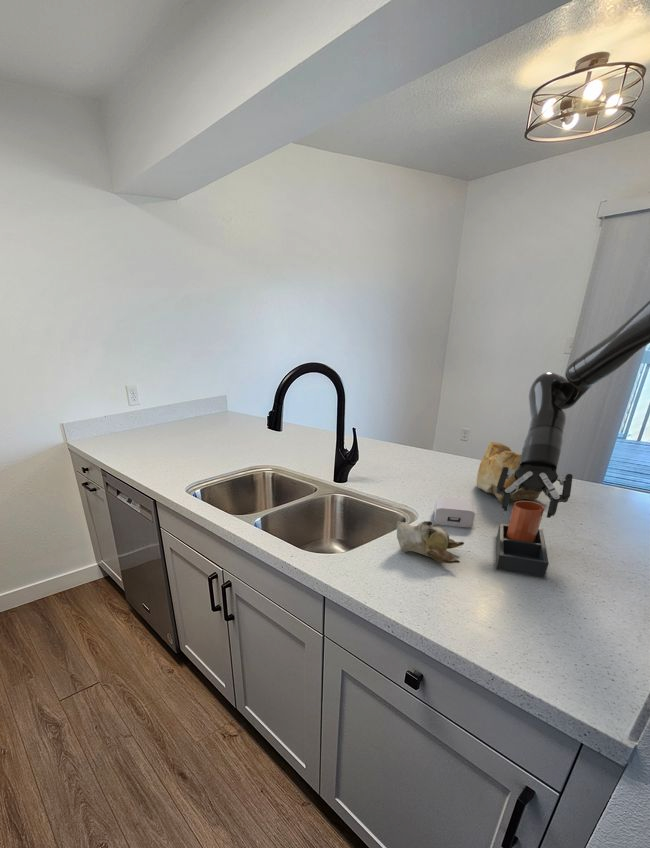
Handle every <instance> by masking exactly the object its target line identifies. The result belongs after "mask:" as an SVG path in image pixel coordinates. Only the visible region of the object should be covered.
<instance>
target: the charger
mask: <svg viewBox="0 0 650 848" xmlns="http://www.w3.org/2000/svg"><path fill="white" fill-rule="evenodd" d="M475 516H476V512H475V506H474V501H473V499H471V498H468V497H466V498H465V497H460V496H453V495H448V496H442V495H441V496H438V497H436V500H435V504H434V521H433V522H434V523H435V524H436V525H441V526H449V527H459V528H470V527H473V525H474V522H475Z"/></svg>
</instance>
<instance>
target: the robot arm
mask: <svg viewBox="0 0 650 848" xmlns="http://www.w3.org/2000/svg"><path fill="white" fill-rule="evenodd" d="M648 345H650V299H649V300H647V302H646V303H645V304H644V305H642V307H640V308H639V309H638V310H637V311H636V312H635V313H634V314H633V315H632V316H631V317H629V318H628V319H627V320H626V321H625V322H624V323H623V324H621V325H620V326H619V327H618V328H616V329H615V330H614V331H612V332H611V333H610V334H608V335H607V336H606V337H604V338H603V339H602V340H600V341H599V342H598V343H596V344H594V345H593V346H592V347H590V348H588V350H586V351H585V352H584V353H582V354H581V355H579V356H578V357H576V358H575V359H574V360H572V361H571V362H570V363H569V364H568V366H567V367H566V369H565V376H562V375H560V374H557V373H555V372H550V371H547V372H544V373H541V374H540V375H539V376H537V377H536V378H535V379H534V380H533V382H532V383H531V385H530V388H529V391H528V393H529V394H528V404H529V414H530V423H529V427H528V431H527V435H526V437H525V439H524V443H523V447H522V451H521V454H520V455H521V459H520V463H519V467H518V469H517V470H516V471H515V470H508V468H507V467H504V468H503V470H502V473H501V476H500V479H499V482H498V485H497V489H496V493H498V494H502V495H503V500H502V503H501V505H500V507H501V509H503V512H508V508H509V504H510V501H511V500H510V496H511V495H512V494H513V493H515V492H517V491H518V490H520V489H521V488H523V489H524V490H527V491H529V490H533V491H535V492H540V491H542V492H543V494H544V495H545V496H546V497H547V498H548V500H549V501H550V502H549V505H548V509H547V513H546V518H548V519H551V517H554V516H555V515H556V513H557V511H558V505H559V504H560V503H567V502H568V501H569V499H570V497H571V492H572V485H573V474H572V473H567V474H566V475H563V474H558V473H557V470H558V465H559V460H560V457H561V452H562V447H563V442H564V441H563V439H564V433H565V427H566V424H567V414H566V412H565V411H564V410H568V409H570V408H573V407H574V406H575V405H576V404H577V403H578V402H579V401H580V399H581V398H582V397H583V396H584V395H585V394H586V393H587V392H588V391H589V390H590V389H592V387H594V385H596V384H598V383H599V382H600V381H603V379H606V378H608V377H609V376H610V375H612V374H613V373H615V372H616V371H618V370H619V369H621V368H622V367H623V366H625V365H626V364H627V363H628V362H630V360H632V358H633V357H634V356H636V355H637V353H639V352H640V351H641V350H642V349H643V348H645V347H646V346H648ZM511 476H514V477H515V479H516V481H515V482H514V483H513V484H512V485H511V486H509V487H508V488H505V487H504V483H505V480H506V479H509V478H510V477H511ZM556 482H559V485H560V486H562V493H561V494H559V493H558V492H557V490H556V487H555V486H554V483H556Z"/></svg>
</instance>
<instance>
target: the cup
mask: <svg viewBox="0 0 650 848" xmlns="http://www.w3.org/2000/svg"><path fill="white" fill-rule="evenodd" d="M544 511H545V506H544V505H543V504H542V503H539V502H536V501H533V500H516V501H514V503H513V505H512V510H511V514H510V517H509V522H508V525H509V526H508V530H507V534H506V538H505V539H511V540H518V541H525V542H532V543H535V539H536V536H537V532H538V529H540V524H541V521H542V517H543V515H544Z"/></svg>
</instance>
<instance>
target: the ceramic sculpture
mask: <svg viewBox="0 0 650 848" xmlns="http://www.w3.org/2000/svg"><path fill="white" fill-rule="evenodd" d="M396 539H397V542H398V544H399V548H400V551H401V552H402V553H408V552H410V551H411V552H415V553H417V554H420V555H423V556H426V557H428V558H432V560H435V561H436V562H438V563H441V564H459V563H461V562H460V560H459V559H457V558H456V557H455V556H454V555H453V554H452V552H451V551H449V550H451V549H455V548H458V547H461V546H463V545H464V544H465V542H464V541H456V540H454V539H452V538H450V535H449V533H448V532H447V530H446V529H445V528H444V527H442V526H439V525H437V524H433V522H432V521H430V520H428V521H427V520H424V521H421V522H419V523H418V524H417V525H412V524H409V523H408V522H404V521H399V520H398V521H397V522H396ZM447 549H449V550H447Z"/></svg>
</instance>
